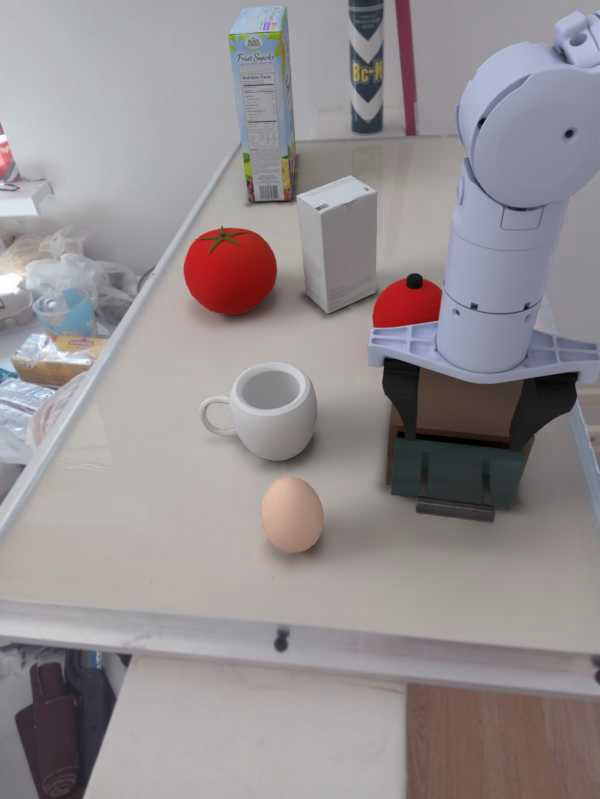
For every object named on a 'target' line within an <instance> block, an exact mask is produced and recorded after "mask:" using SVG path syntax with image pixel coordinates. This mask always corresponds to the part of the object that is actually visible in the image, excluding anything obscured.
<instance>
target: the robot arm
mask: <svg viewBox="0 0 600 799" xmlns="http://www.w3.org/2000/svg"><path fill="white" fill-rule="evenodd" d="M554 31H555V36H554V38H553V42H552V44H550V43H547V42H542V41H537V42H536V43H531V42H530V41H522V42H518V43H514V44H511V45H508V46H506V47H504V48H501V49H500V50H498V51H497V52H495V53H494V54H492V55H491V56H490V57H489V58H487V59H486V60H485V61H484V62H483V63H482V64H480V66H479V67H478V68H477V69H476V70H475V72H476V74H475V75H474V77H473V78H472V79H471V78H469V80H468V82H467V84H466V85H465V88H464V90H463V92H462V96H461V98H460V100H459V101H460V102H458V103H456V104H455V105H454V109H453V121H454V126H455V132H456V134H457V137H458V139H459V141H460V143H461V145H462V146H463V148H464V149H465V152H466V154H467V156H466V157H465V158H463V159H462V160H461V165H460V166H461V167H460V174H459V175H460V176H459V179H458V183H457V186H456V201H455V204H454V206H453V209H452V212H451V220H450V229H449V234H448V235H449V236H448V244H447V251H446V259H445V266H444V275H443V283H442V289H441V290H442V298H441V306H440V314H439V321H435V322H428V323H421V324H415V325H408V326H401V327H393V328H373V327H371V328H370V332H369V337H368V342H367V367H370V368H371V367H372V368H382V367H383V370H382V380H381V386H382V391H383V394H384V396H386V397H387V399H389V401H390V402H391V404H392V403H393V405H394V406H395V408H396V409H397V411H398V413H399V415H400V417H401V420H402V423H403V426H404V429H405V434H406V440H407V441H415V437H416V426H417V414H418V385H419V375H420V367H423V368H426V369H430V370H433V371H436V372H439V373H442V374H445V375H448V376H451V377H454V378H457V379H460V380H464V381H467V382H472V383H479V384H494V383H501V382H508V381H514V380H521V379H524V381H523V386H522V390H521V395H520V398H519V401H518V404H517V406H516V409H515V412H514V415H513V417H512V420H511V425H510V430H509V438H510V451H511V452H517V453H519V452H521V450H522V449H523V447H524V446H525V445H526V444H527V442H528V441H529V440H530V439H531V438H532V437H533V436H535V435H536V434H537V433H538V432H539V431H540V430H541V429H542V428H544V427H545V426H546V425H547V424H550V422H552V421H553V420H555V419H557V418H559V417H561V416H563V415H565V414H568V413H571V411H572V409H573V408H574V406H575V405H576V402H577V400H578V392H577V387H576V384H577V383H578V384H582V385H592V386H593V385H596V383H597V381H598V378H599V376H600V343H599V342H596V341H595V342H594V341H585V340H579V339H573V338H569V337H566V336H562V335H558V334H554V333H550V332H546V331H542V330H539V329H536V328H535V326H536V321H537V319H538V315H539V312H540V309H541V304H542V302H543V298H544V295H545V294H544V293H545V290H546V288H547V287H546V286H547V283H548V279H549V276H550V273H551V269H552V266H553V262H554V260H555V259H554V258H555V255H556V252H557V248H558V245H559V242H560V238H561V234H562V231H563V227H564V223H565V216H566V213H567V210H568V206H569V203H570V199H571V198H572V197H573V196H574V195H576V194H577V193H578V192H579V191H581V190H582V189H583V188H585V187H586V185H587V184H589V183H590V181H591V180H592V179H593V178H594V177H595V176H596V174H598V172H599V171H600V9H599V10H596V11H595V12H593V13H592V14H589V15H587V16H586V15H585V14H584V13H582V12H581V11H579V10H574V11H573V12H571V13H570V14H568V15H566V16H564V17H562V18H560V19H559V20H557V21H556V22H555V24H554Z"/></svg>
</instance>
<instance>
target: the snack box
mask: <svg viewBox="0 0 600 799" xmlns="http://www.w3.org/2000/svg"><path fill="white" fill-rule="evenodd" d="M227 38H228V47H229V55H230V63H231V72H232V80H233V87H234V95H235V96H234V97H235V104H236V113H237V120H238V128H239V136H240V144H241V152H242V159H243V160H242V161H243V168H244V170H243V171H244V177H245V185H246V193H247V194H246V195H247V200H248V202H249V203H256V202H257V203H258V202H286V201H287V202H288V201H292V196H293V186H294V176H295V168H296V156H297V146H296V145H297V144H296V129H295V114H294V113H295V112H294V111H295V110H294V97H293V84H292V83H293V81H292V67H291V50H290V49H291V48H290V32H289V18H288V7H287V5H280V4H279V5H265V6H255V7H254V6H250V7H243V8H242V9H241V11H240V13H239V15H238V17H237V19H236V21H235V22H234V24H233V26H232V27H231V29H230V31H229V33H228V34H227Z"/></svg>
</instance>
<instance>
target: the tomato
mask: <svg viewBox="0 0 600 799" xmlns="http://www.w3.org/2000/svg"><path fill="white" fill-rule="evenodd" d="M193 240H194V241H193V242H191V244H190V246H189V247H188V250H187V252H186V254H185V258H184V262H183V270H182V272H183V277H184V281H185V282H184V283H185V286H186V287H187V289H188V291H189V293H190V296H192V297H193V298H194V300H195V301H197V302H198V303H199V304H200V305H201V306H202V307H204V308H206V309H207V310H209V311H211V312H213V313H216V314H222V315H230V316H231V315H240V314H244V313H246V312H249V311H250V310H253V309H254V308H256V307H257V306H259V305H260V304H261V303H262V302H263V301H264V300H266V299H267V297H268V296H269V295H270V294H271V292H272V291H273V289H274V287H275V285H276V281H277V277H278V276H277V275H278V264H277V259H276V255H275V253H274V251H273V248H272V247H271V245H270V244H269V243H268V241H266V240H265V238H263V236H261V235H260V234H258V233H257V232H255V231H253V230H251V229H247V228H239V227H224V226H223V225H221V227H220V228H217V229H212V230H209V231H206V232H204V233H202V234H201V235H199V236H198V237H197V238H195V239H193Z"/></svg>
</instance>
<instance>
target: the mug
mask: <svg viewBox="0 0 600 799" xmlns="http://www.w3.org/2000/svg"><path fill="white" fill-rule="evenodd" d="M216 403H217V404H226V405H229V409H230V410H229V411H230V416H231V420H232V424H233V426H234V427H233V428H229V429H228V428H227V429H226V428H225V429H224V428H219V427H216V426H214V425H213V424H212V423H211V422H210V420H209V418H208V416H207V410H208V408H209V406H210V405H212V404H216ZM198 414H199V419H200V422H201V424H202V425H203V427H204V428H205V429H206V430H207V431H208V432H210V433H211V434H214V435H216V436H220V437H231V436H236V435H237V436H238V437H239V439H240V440H241V442H242V443H243V445H244V446H245V448H247V449H248V450H249V452H251V453H252V454H253V455H255V456H256V457H258V458H261V459H263V460H267V461H273V462H274V461H275V462H279V461H285V460H289V459H291V458H293V457H295V456H298V455H299V454H300V453H302V452H303V451H304V450H305V449H306V447H308V444H310V441H311V440H312V437H313V435H314V433H315V430H316V426H317V419H318V402H317V395H316V391H315V387H314V383H313V382H312V380H311V378H310V377H309V376H308V374H307V373H306V371H304V370H303V369H302V368H301V367H299V366H297V365H296V364H293V363H291V362H290V363H289V362H284V361H265V362H261V363H257V364H255V365H252V366H250V367H248V368H246V370H243V371H242V372H241V373H240V374H239V375H238V376H237V377H236V379H235V380H234V382H233V383H232V386H231V389H230V392H229V395H228V396H226V395H219V394H218V395H217V394H216V395H212V396H209V397H208V398H206V399H205V400H203V401H202V402H201V404H200V406H199V411H198Z"/></svg>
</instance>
